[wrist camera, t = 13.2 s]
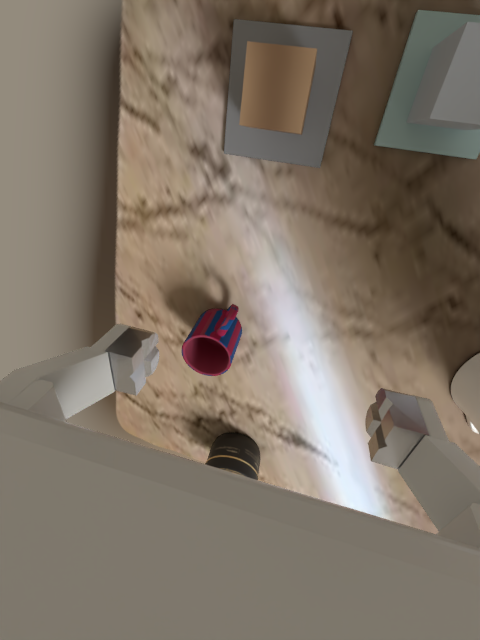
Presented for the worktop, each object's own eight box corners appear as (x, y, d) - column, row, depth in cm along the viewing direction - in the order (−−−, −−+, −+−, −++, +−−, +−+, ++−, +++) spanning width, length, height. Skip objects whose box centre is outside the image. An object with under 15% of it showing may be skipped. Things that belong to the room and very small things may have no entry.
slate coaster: (352, 33, 24) (353, 30, 23) (319, 167, 29) (319, 167, 29) (235, 21, 25) (233, 19, 24) (225, 153, 30) (223, 153, 30)
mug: (190, 328, 44) (172, 356, 38) (225, 282, 39) (211, 307, 33) (225, 353, 45) (214, 383, 39) (265, 311, 40) (257, 340, 34)
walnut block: (315, 66, 25) (317, 48, 20) (302, 134, 28) (300, 133, 23) (259, 60, 26) (247, 41, 21) (251, 127, 28) (239, 125, 23)
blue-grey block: (499, 54, 22) (554, 29, 17) (464, 130, 25) (503, 127, 20) (433, 47, 23) (467, 21, 18) (406, 122, 26) (429, 118, 21)
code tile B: (539, 23, 22) (545, 21, 21) (472, 159, 27) (476, 159, 26) (416, 12, 23) (418, 9, 22) (373, 145, 28) (374, 145, 27)
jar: (217, 458, 61) (206, 495, 54) (209, 427, 56) (196, 464, 49) (263, 464, 59) (258, 504, 52) (260, 432, 53) (253, 471, 47)
